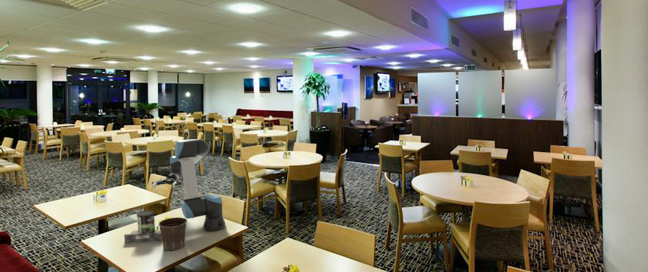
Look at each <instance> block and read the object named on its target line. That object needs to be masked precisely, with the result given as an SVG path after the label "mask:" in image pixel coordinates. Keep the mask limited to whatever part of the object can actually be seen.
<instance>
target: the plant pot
mask: <svg viewBox="0 0 648 272" xmlns="http://www.w3.org/2000/svg"><path fill="white" fill-rule="evenodd" d="M187 222H188V219H187V218H185V217H181V216H179V217H170V218H166V219H163V220H161V221H160V222H159V223H158V226H159V229H160V230H161V234H162V241H161V242H162V247H163V250H165V251H170V252H171V251H174V250H175V251H177V250H180V249H182V248H183V247H184V246H185V241H186V240H185V239H186V228H187Z"/></svg>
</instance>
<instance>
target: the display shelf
mask: <svg viewBox="0 0 648 272" xmlns="http://www.w3.org/2000/svg"><path fill="white" fill-rule="evenodd" d="M123 238H124V239H123V240H124V244H132V243H134V244H135V243H137V244H140V243H157V242H160V243H161V242H163V241H162V234H161V232H160V231H158V229H155V233H141V234H138V229H137V230H132V231H131V232H130V233H125V234H124V235H123Z"/></svg>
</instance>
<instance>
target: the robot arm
mask: <svg viewBox="0 0 648 272" xmlns="http://www.w3.org/2000/svg"><path fill="white" fill-rule="evenodd" d="M210 150H211V147H210V145H209V143H208V142H207V141H206V140H204V139H201V138H196V139H193V138H192V139H191V138H190V139H180V140H177V141H176V142H175V145H174V155H172V156H170V158H169V159H170V161H169V163H170V174H168V175H167V176H166V177H165V178H163V179H162V178H161V179H158V180H155V181H152V182H151V186H152V189H155V188H156V187H157V186H161V185H171V186H172V189H174V188H175V187H176V186H181V185H182V181H183V191H184V198H183V200H182V202H181V203H180V207H181V211H182V215H183V216H184V218H185V219H187V220H188V219H194V218H200V217H204V216H205V218H204V221H203V225H202V227H203V228H202V230H204V231H206V232H217V231H221V230H224V229H225V228H226V221H225V219H224V216H223V198H222V196H220V195H218V194H217V195H216V194H206V195H205V196H204V197H203V198H202V196H201V195H200V194H199V189H198V181H197V174H196V173H197V172H196V167H197V166H199V165H201V164H200V163H201V159H202V158H203V157H205V156H206V155H208V153H209V152H210ZM181 179H182V180H181Z"/></svg>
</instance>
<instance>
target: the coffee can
mask: <svg viewBox="0 0 648 272" xmlns="http://www.w3.org/2000/svg"><path fill="white" fill-rule="evenodd" d="M136 218H137V219H136V220H137V230H138V234H141V233H155V230H156V223H155V211H154V210H143V211H140V212H137V213H136Z"/></svg>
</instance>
